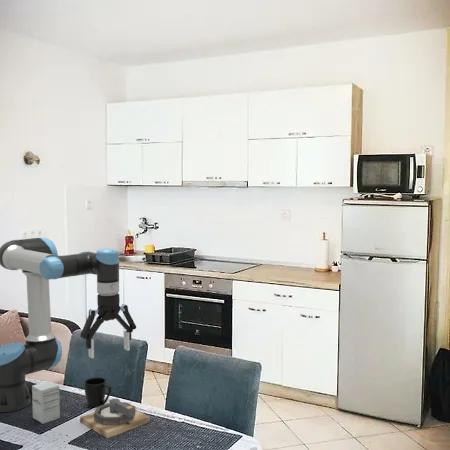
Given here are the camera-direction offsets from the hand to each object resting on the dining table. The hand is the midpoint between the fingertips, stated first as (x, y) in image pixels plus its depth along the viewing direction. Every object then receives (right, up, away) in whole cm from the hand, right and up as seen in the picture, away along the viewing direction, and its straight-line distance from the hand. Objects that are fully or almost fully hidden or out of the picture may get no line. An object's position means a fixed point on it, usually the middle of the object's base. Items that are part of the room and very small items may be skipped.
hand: (109, 353), depth 190 cm
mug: (-9, -26, +23) cm, 36 cm away
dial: (+2, -25, +6) cm, 25 cm away
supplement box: (-26, -27, +11) cm, 39 cm away
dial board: (0, -27, +8) cm, 28 cm away
